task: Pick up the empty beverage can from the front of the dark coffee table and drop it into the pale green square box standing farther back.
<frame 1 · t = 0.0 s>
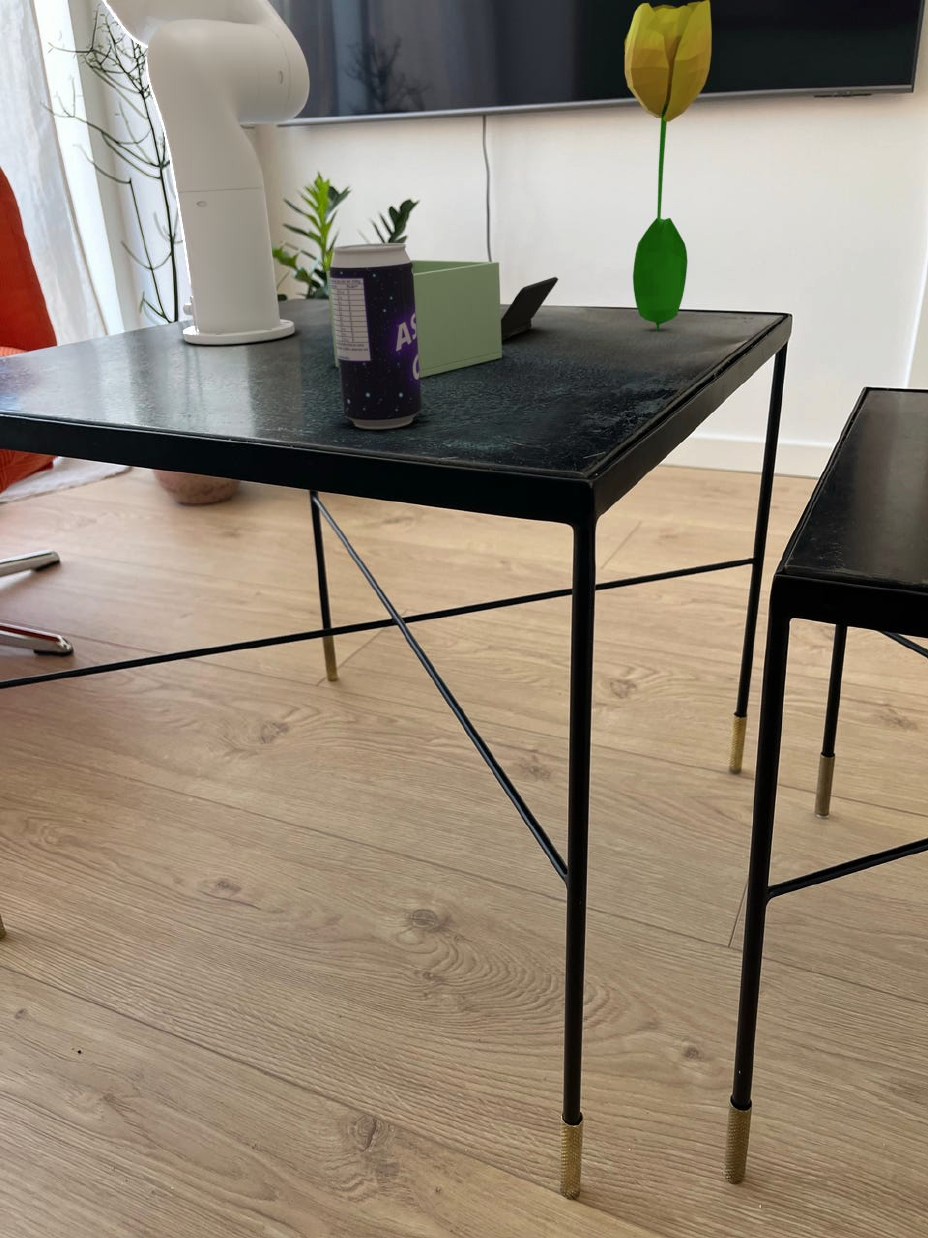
beverage can: (383, 425, 71), on the table
flower: (657, 332, 104), on the table
pale green square box: (419, 362, 93), on the table
black tablet stand: (503, 337, 106), on the table
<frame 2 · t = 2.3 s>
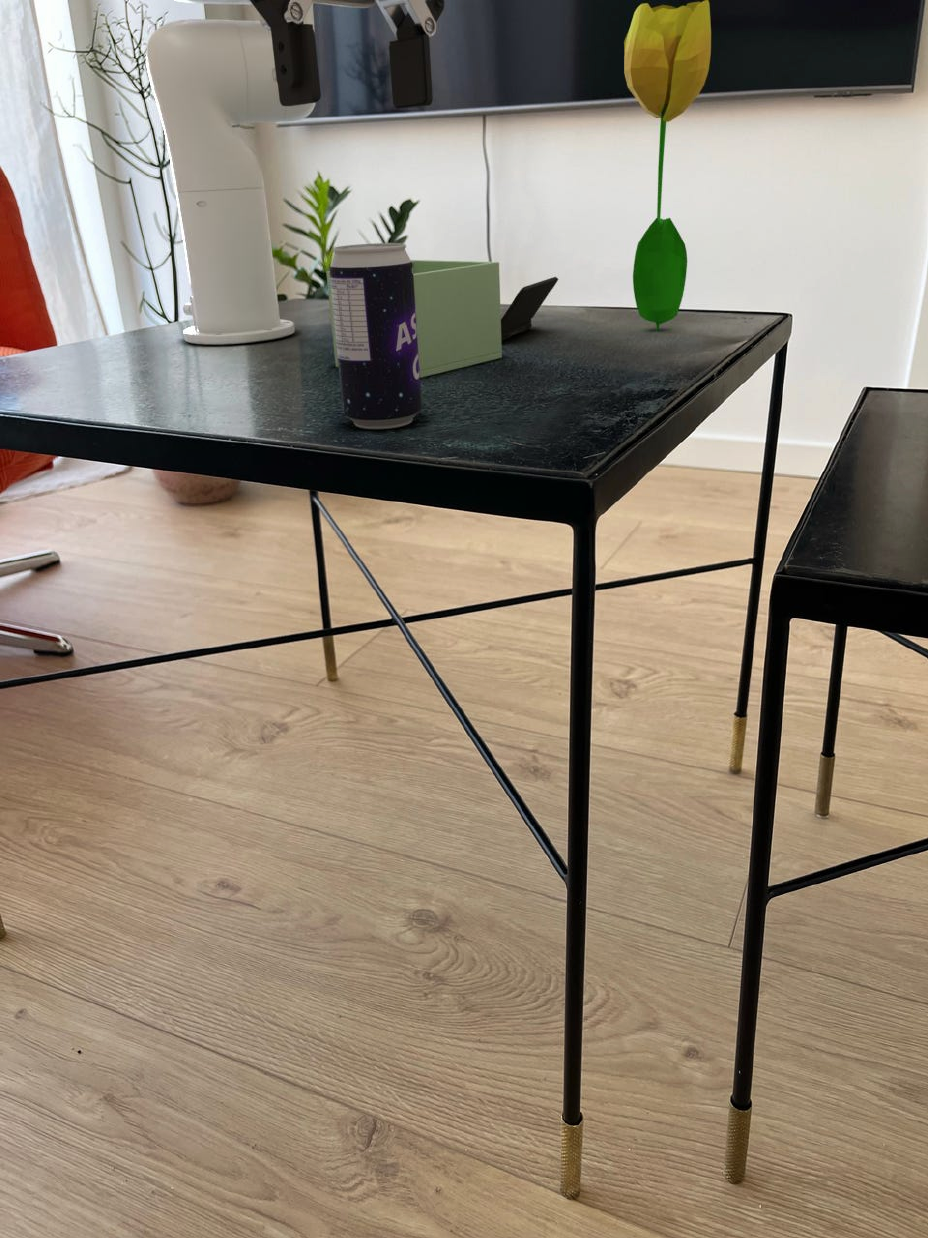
hand: (359, 105, 63), 20 cm above the table, tool pointing down, fingers open, 9 cm apart
nothing on the table moved.
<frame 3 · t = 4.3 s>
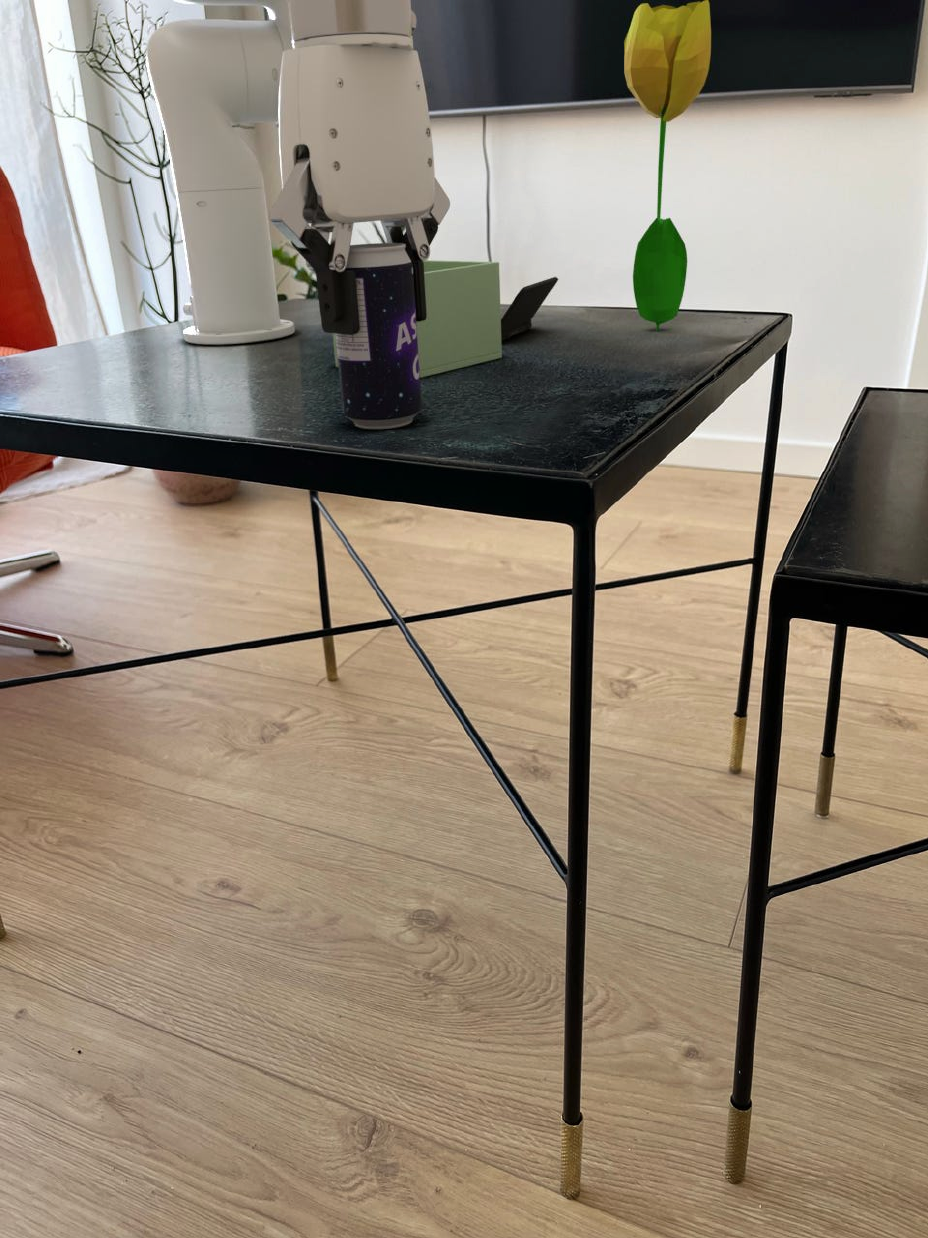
hand: (375, 323, 68), 7 cm above the table, tool pointing down, fingers closed on beverage can, 5 cm apart
beverage can: (383, 425, 71), on the table, touching gripper
everything else where it was.
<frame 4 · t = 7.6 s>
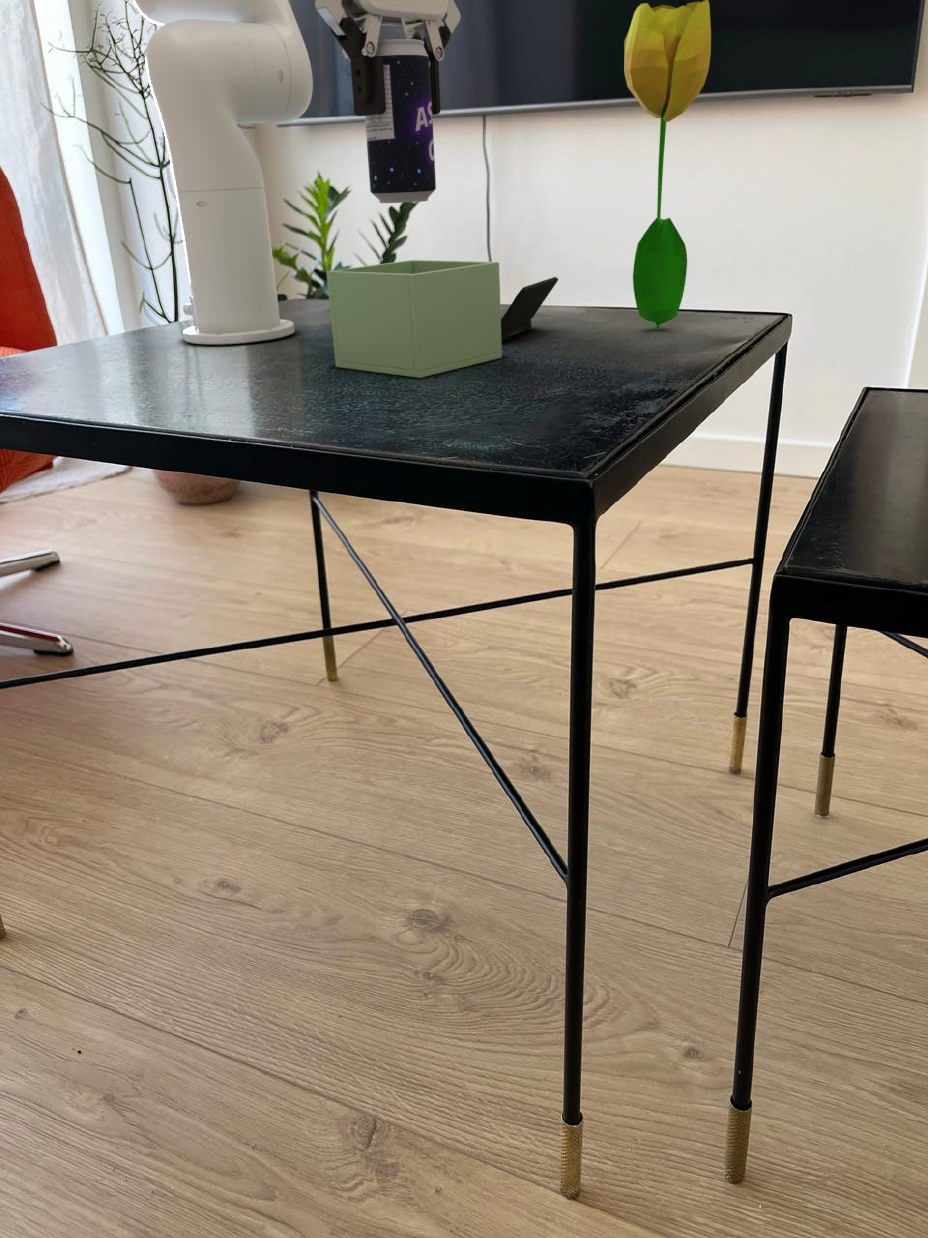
hand: (398, 112, 82), 21 cm above the table, tool pointing down, fingers closed on beverage can, 5 cm apart
beverage can: (404, 204, 85), point 14 cm above the table, touching gripper
everything else where it was.
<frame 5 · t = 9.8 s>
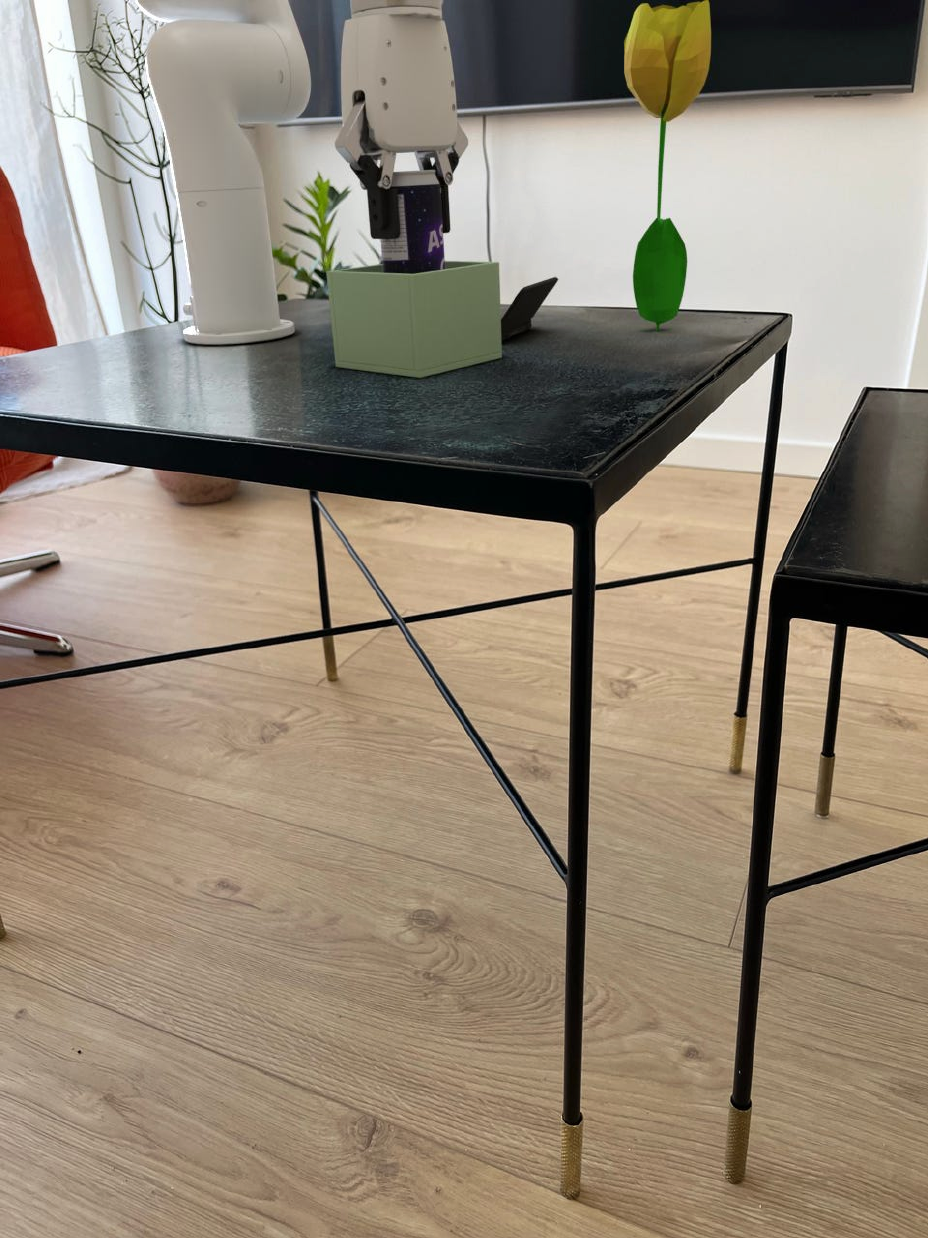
hand: (411, 233, 88), 11 cm above the table, tool pointing down, fingers closed on beverage can, 5 cm apart
beverage can: (417, 315, 91), point 4 cm above the table, touching gripper
everything else where it was.
when the fingers open (8 cm above the table, at t = 11.8 s): beverage can stays where it is, resting on pale green square box.
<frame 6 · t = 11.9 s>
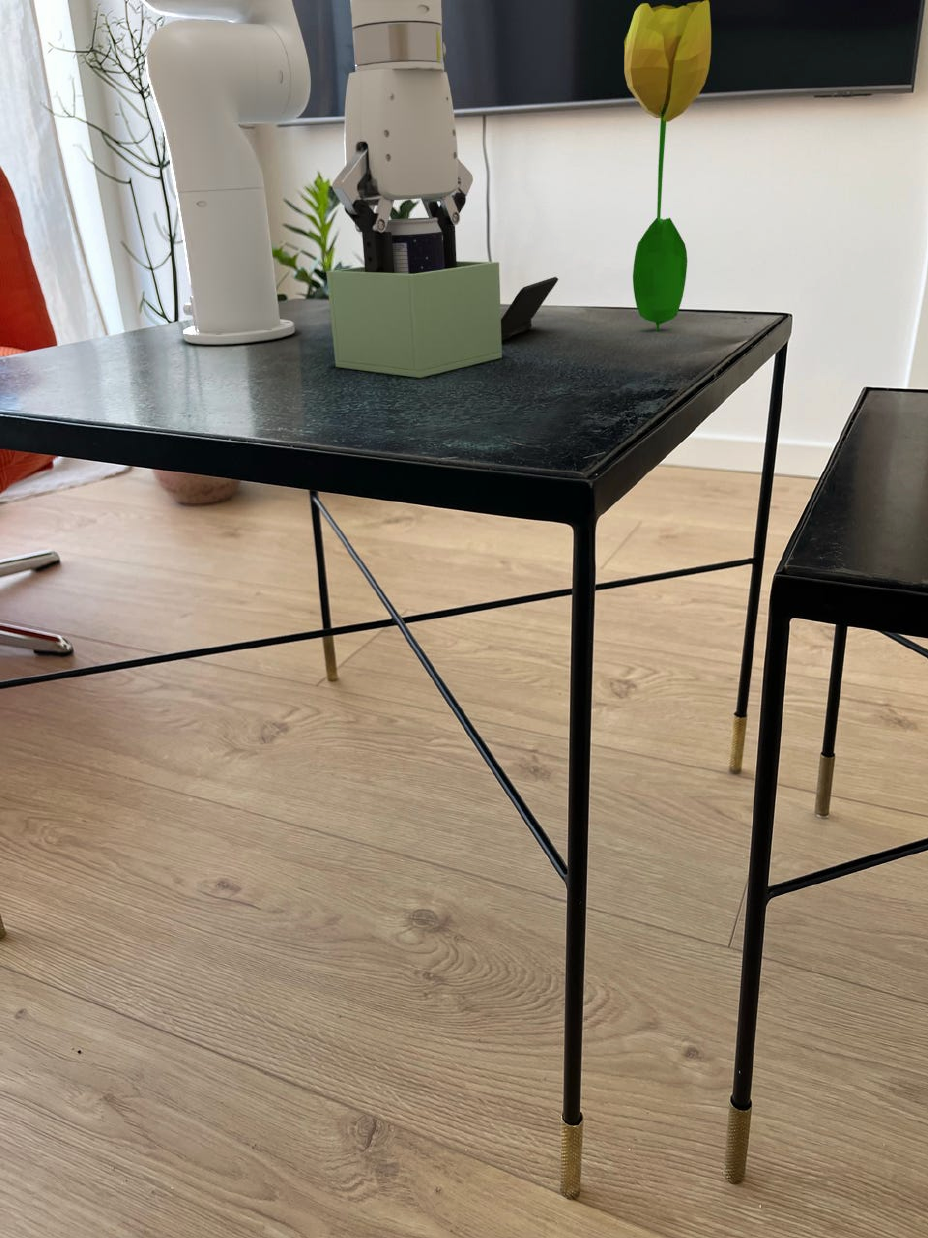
hand: (412, 273, 90), 8 cm above the table, tool pointing down, fingers open, 7 cm apart
beverage can: (419, 357, 93), resting on pale green square box
everything else where it was.
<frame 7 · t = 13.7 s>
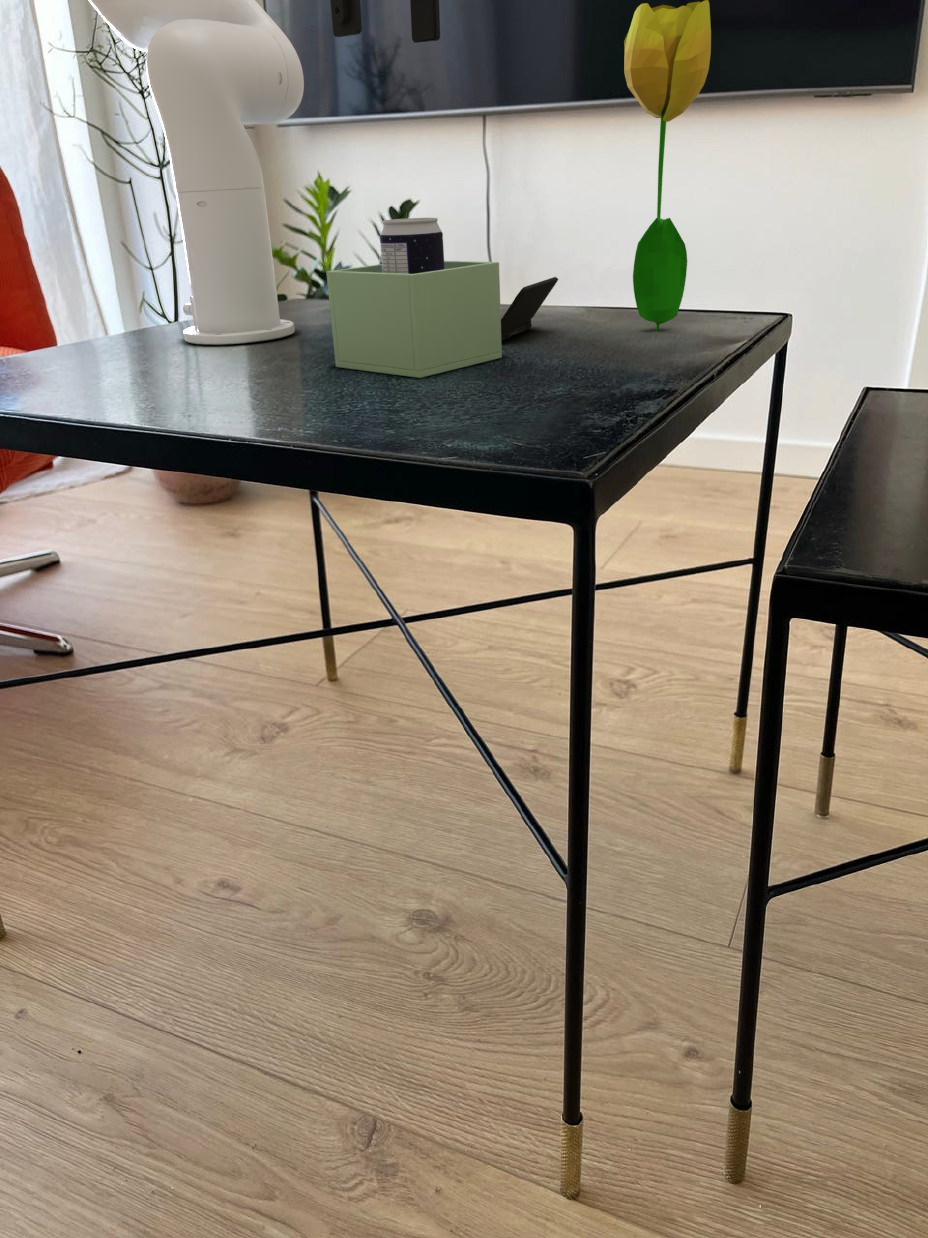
hand: (388, 38, 89), 28 cm above the table, tool pointing down, fingers open, 9 cm apart
nothing on the table moved.
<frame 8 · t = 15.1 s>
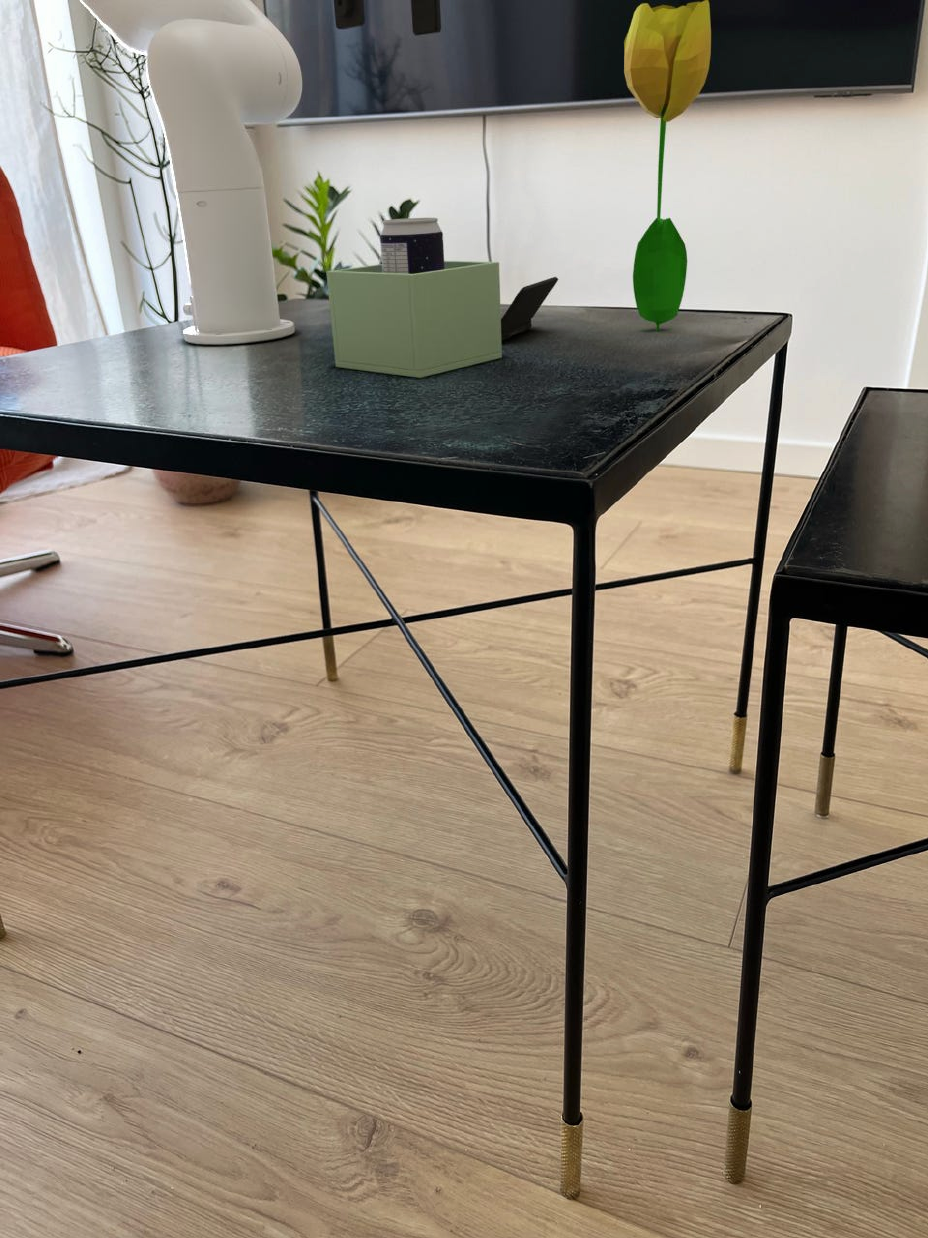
hand: (390, 30, 90), 28 cm above the table, tool pointing down, fingers open, 9 cm apart
nothing on the table moved.
at the end: beverage can inside the target area in the pale green square box (0.0 cm from its centre), point 0.4 cm above the pale green square box's base; the gripper is holding nothing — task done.
